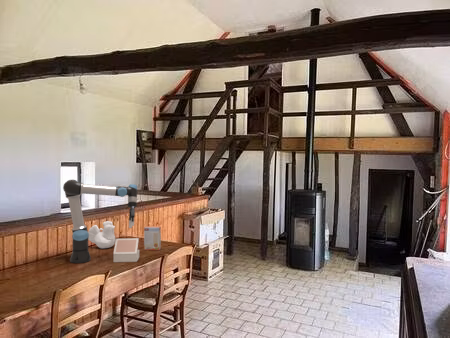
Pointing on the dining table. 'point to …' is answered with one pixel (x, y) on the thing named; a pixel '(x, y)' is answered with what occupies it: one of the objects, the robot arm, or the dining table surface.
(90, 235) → the decorative rooster
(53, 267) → the dining table surface
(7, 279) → the dining table surface
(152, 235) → the cracker box
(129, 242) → the mailer lid
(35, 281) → the dining table surface
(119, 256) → the box
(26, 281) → the dining table surface
